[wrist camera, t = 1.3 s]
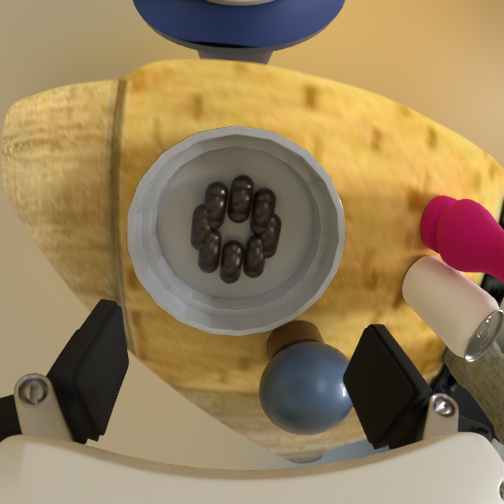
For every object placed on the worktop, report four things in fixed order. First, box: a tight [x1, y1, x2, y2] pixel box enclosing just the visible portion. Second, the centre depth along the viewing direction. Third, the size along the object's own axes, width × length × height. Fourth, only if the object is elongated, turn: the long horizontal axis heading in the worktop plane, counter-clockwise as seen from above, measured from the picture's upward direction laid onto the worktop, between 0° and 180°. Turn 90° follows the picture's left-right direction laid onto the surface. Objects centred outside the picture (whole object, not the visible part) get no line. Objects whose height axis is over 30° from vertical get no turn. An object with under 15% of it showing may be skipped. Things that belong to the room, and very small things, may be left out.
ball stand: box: [259, 321, 353, 435], centre depth 23 cm, size 9×9×12 cm
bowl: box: [127, 126, 345, 336], centre depth 21 cm, size 16×16×4 cm
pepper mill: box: [421, 196, 504, 283], centre depth 15 cm, size 7×7×20 cm
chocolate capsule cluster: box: [190, 175, 282, 284], centre depth 22 cm, size 9×7×2 cm
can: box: [402, 255, 504, 362], centre depth 22 cm, size 6×6×12 cm
